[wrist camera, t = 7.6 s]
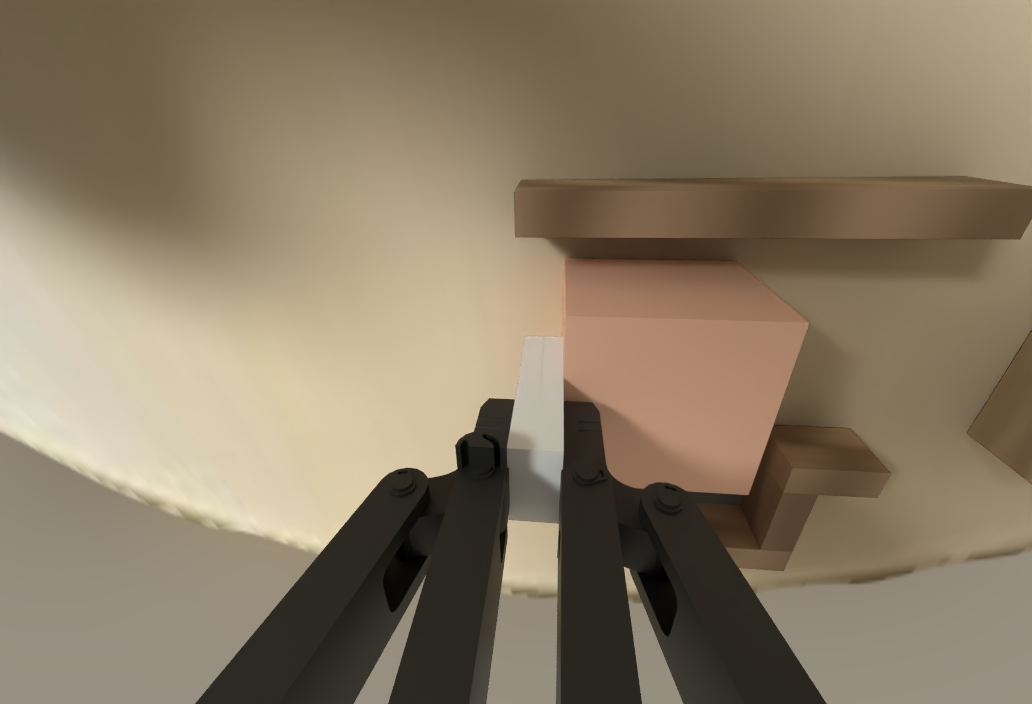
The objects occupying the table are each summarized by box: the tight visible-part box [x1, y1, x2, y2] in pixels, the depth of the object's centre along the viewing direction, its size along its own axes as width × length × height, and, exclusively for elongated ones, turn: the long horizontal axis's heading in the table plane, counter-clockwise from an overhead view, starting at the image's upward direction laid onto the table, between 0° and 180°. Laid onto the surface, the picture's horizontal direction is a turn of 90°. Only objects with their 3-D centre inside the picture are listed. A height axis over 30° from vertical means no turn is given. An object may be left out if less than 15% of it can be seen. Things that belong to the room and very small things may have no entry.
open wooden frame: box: [514, 176, 1032, 571], centre depth 18 cm, size 23×18×4 cm
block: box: [562, 258, 809, 495], centre depth 17 cm, size 7×7×6 cm
